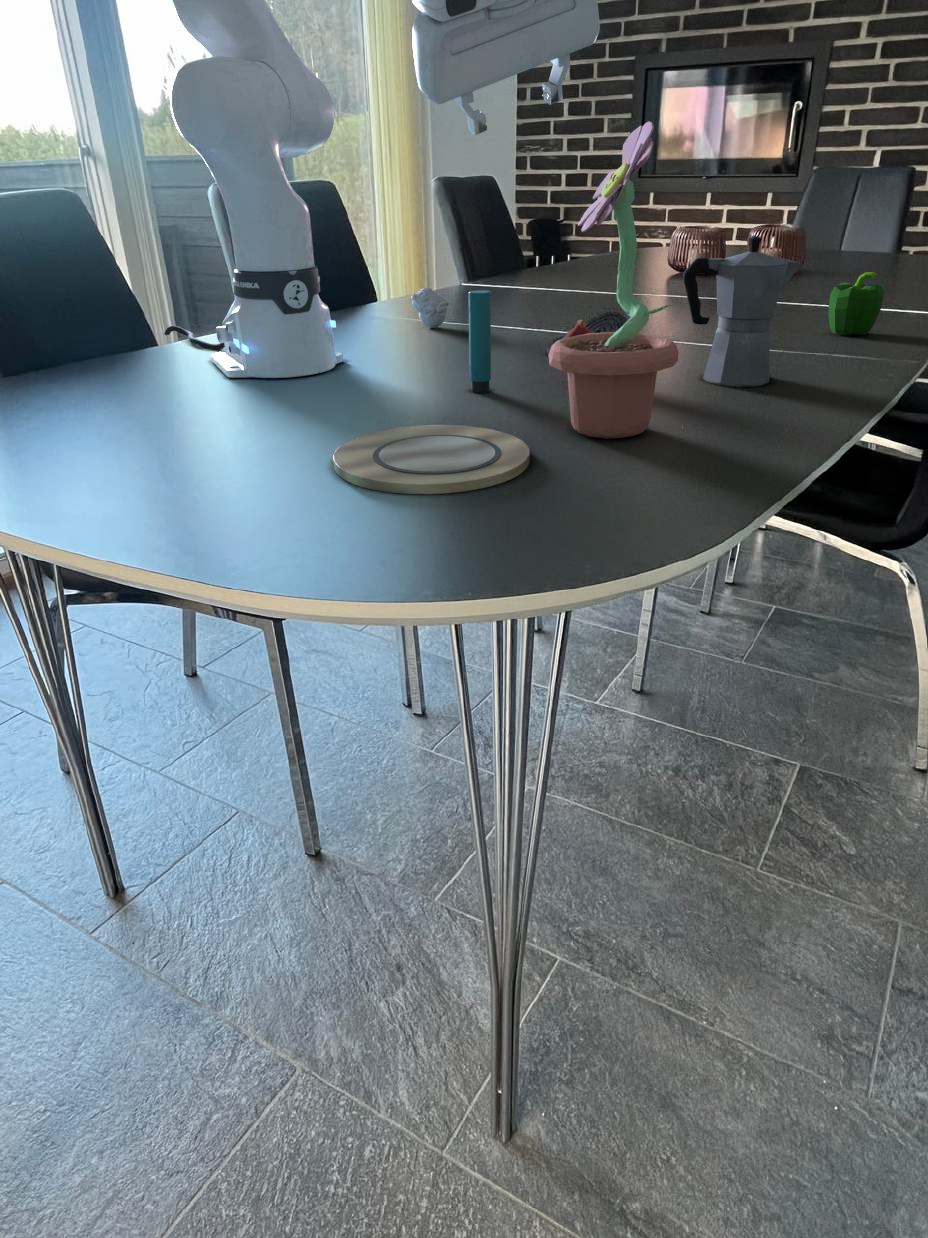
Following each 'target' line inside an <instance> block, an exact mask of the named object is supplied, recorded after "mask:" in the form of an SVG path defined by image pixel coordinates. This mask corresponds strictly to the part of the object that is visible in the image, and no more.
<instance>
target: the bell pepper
mask: <svg viewBox="0 0 928 1238" xmlns="http://www.w3.org/2000/svg"><path fill="white" fill-rule="evenodd" d="M876 277H878V273H877V272H875V271H867V272H864V273H862V274H861V275H859V276H858V279H857V280H856V282H855V284H854V285H853V284H851V283H849V282H841V283H840V284H837V285H834V287H832V290H831V292H830V295H829V301H828V324H829V326H828V327H829V331H830V332H831V333H832V334H835V335H840V336H845V337H846V336H862V335H867V334H868V333H869V332H871V330H872V329H873V327H874V325H875V323H876V321H877V319H878V317H879V315H880V313H881V310H882V305H883V301H884V297H885V289H884V286H883V285H880V284H865V283H864V281H865V279H868V278H869V279H872V280H875V279H876Z"/></svg>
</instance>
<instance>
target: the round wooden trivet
mask: <svg viewBox="0 0 928 1238" xmlns="http://www.w3.org/2000/svg"><path fill="white" fill-rule="evenodd" d="M333 452H334V453H333V456H332V459H333V460H332V461H333V470H334V472H336V474H337V475H338V477H340V478H341V479H343V480H344V481H346V482H348V483H350V484H352V485H355V486H357V487H361V488H365V489H369V490H373V491H377V492H378V491H379V492H385V493H391V494H402V495H403V494H405V495H441V494H454V493H455V494H456V493H463V492H469V491H476V490H481V489H485V488H489V487H493V486H497V485H500V484H503V483H505V482H507V481H511V480H513V479H514V478H516V477H518V476H519V475H521V474H522V473H524V472H525V471H526V469H527V468H528V467H529V464H530V457H531V456H530V454H531V453H530V448H529V446H528V445H527V443H525V442H524V441H523V440H522V439H520V438H518V437H517V436H514V435H512V434H509V433H506V432H503V431H501V430H495V429H492V428H485V427H479V426H472V425H458V424H421V425H409V426H408V425H407V426H400V427H393V428H388V429H387V428H386V429H382V430H378V431H377V430H376V431H373V432H369V433H365V434H363V435H362V434H361V435H360V436H357V437H354V438H352V439H350V440H348V441H345V442H344V443H343V444H341V445H340V446H338V447H337V448H336V450H335V451H333Z"/></svg>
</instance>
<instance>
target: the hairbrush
mask: <svg viewBox="0 0 928 1238" xmlns="http://www.w3.org/2000/svg"><path fill="white" fill-rule="evenodd" d="M605 309H606V310H609V311H607V312H604V313H603V311H600V310H597V312H598V313H599V314H598V315H596V316H594V317H591V316H589V315H588V318H589V320H587V316H586V317H585V319H586V321H585V322H586V324H585V326H586V328H587V329H589V330H590V331H591V332H592V333H602V332H616V331H617V330H619V329H620V328H621V327H622V326H623V325H624V324H625V323H626V322H627V321H628V318H627V317H626V316H625V315H624V313H621V312H618V307H616V309H615V307H613V309H612V310H613V312H612V311H610V307H603V310H604V311H605ZM621 309H622V308H619V311H621ZM591 315H594V314H593V312H591ZM575 326H576V324H574V326H572V329H574V328H575ZM568 332H569V331H567V332H565V333H562V334H559V336H556V337H554V338H553V339H552V340H551V341H550V342H549V343H548V345H547V349H546V350H547V351H546V352H547V355H548V356H549V352H550V349H551V346H552V345H553V344H554V343H555V342H556V341H558V340H561V339H563V338H564V337H565V335H566V334H567V333H568Z"/></svg>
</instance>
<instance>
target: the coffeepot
mask: <svg viewBox="0 0 928 1238" xmlns="http://www.w3.org/2000/svg"><path fill="white" fill-rule="evenodd" d="M762 239H763V237H760V236H758V235H755V236H751V237H749V238H748V249H749V251H747V252H743V253H739V254H736V255H731V256H729V257H725V258H719V257H718V258H717V257H716V258H715V257H714V258H709V257H696V258H695V259H694V260H693V261H692V262H691V263H689V266H688V267H686V269H685V270H684V271H683V273H682V281H683V286H684V291H685V295H686V299H687V303H688V304H687V305H688V308H689V312H690V318H691V322H692V323H693V324H695V325H701V326H702V325H703V326H704V325H708V323H709V321H710V317H709V316H702V315H701V308H702V307H701V306H702V302H701V300H700V297H699V285H698V284H699V283H698V280H697V276H698V275H699V274H707V275H713V276H714V275H715V276H716V278H715V279H716V315H717V316H718V322H717V328H716V330H715V332H714V333H715V334H714V338H713V342H712V345H711V348H710V353H709V356H708V359H707V363H706V366H705V370H704V373H703V376H702V379H703V380H704V381H706V382H708V383H710V384H713V385H717V386H722V387H723V386H724V387H734V388H735V387H736V388H751V387H752V388H753V387H760V386H765V385H767V384H768V383H769V382H770V379H771V333H770V331H771V330H770V328H771V321H772V317H774V314H775V311H776V307H777V303H778V300H779V296H780V294H781V293H782V292H783V290H784V289H785V287H786V286H787V285H788V283H789V282H790V280H791V279H792V277H793V276H794V275H795V273H796V272H797V271H798V270H799V269H802V268H803V264H802V262H798V261H794V260H791V259H786V258H783V257H778V256H774V255H770V254H766V253H764V252H761V251H759V249H760V247H761V246H760V245H761V242H762Z"/></svg>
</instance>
